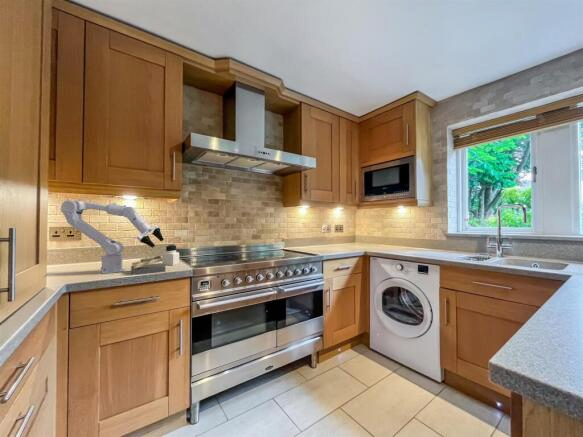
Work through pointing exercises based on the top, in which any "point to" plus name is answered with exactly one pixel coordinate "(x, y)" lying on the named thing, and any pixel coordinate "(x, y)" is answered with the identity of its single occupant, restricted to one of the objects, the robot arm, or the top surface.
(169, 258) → the medicine bottle
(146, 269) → the instrument base
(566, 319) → the top surface
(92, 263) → the top surface
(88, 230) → the robot arm
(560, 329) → the top surface
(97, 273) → the top surface
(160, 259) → the leveling plate
